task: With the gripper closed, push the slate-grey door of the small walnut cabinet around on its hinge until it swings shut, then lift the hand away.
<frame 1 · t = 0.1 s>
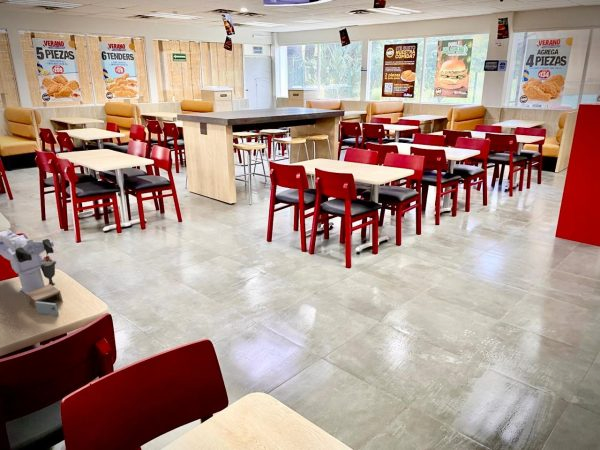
hand: (41, 253, 167), 22 cm above the table, tool horizontal, fingers open, 7 cm apart
cabinet: (46, 303, 177), on the table
door: (46, 308, 168), point 3 cm above the table, hinge at -65.0°
sundae: (51, 286, 191), on the table, touching arm
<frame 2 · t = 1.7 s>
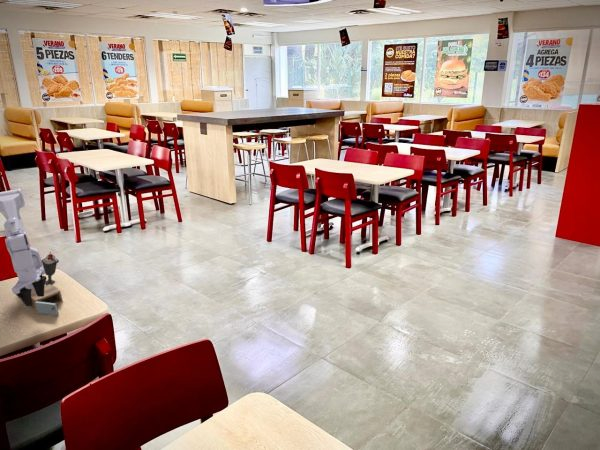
hand: (35, 300, 162), 8 cm above the table, tool pointing down, fingers open, 6 cm apart
sundae: (49, 283, 192), on the table, touching arm
everything else where it was.
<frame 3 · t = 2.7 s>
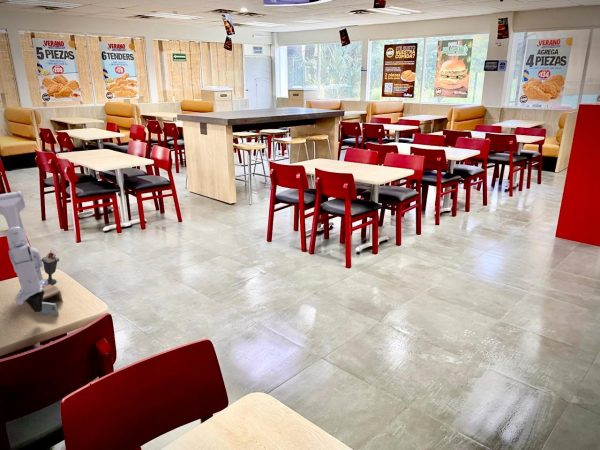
hand: (38, 311, 164), 4 cm above the table, tool pointing down, fingers closed
nothing on the table moved.
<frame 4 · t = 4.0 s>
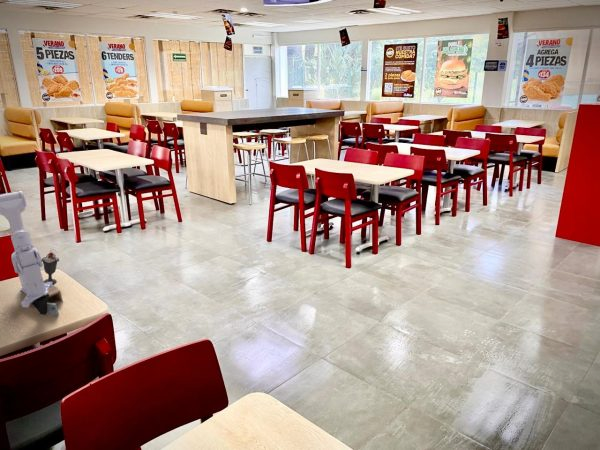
hand: (43, 313, 167), 2 cm above the table, tool pointing down, fingers closed
door: (46, 308, 168), point 3 cm above the table, hinge at -65.0°, touching gripper
everything else where it was.
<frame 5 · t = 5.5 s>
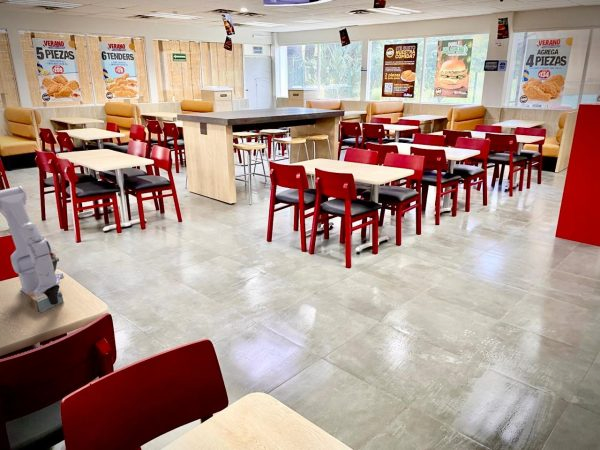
hand: (54, 303, 172), 2 cm above the table, tool pointing down, fingers closed, pressing on door
door: (50, 301, 173), point 3 cm above the table, hinge at 2.6°, touching cabinet, gripper
everything else where it was.
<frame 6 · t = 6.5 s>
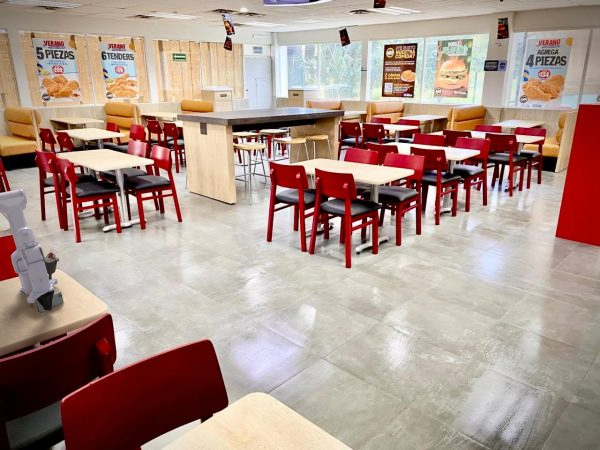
hand: (48, 309, 169), 2 cm above the table, tool pointing down, fingers closed
door: (50, 301, 173), point 3 cm above the table, hinge at 2.5°
everything else where it was.
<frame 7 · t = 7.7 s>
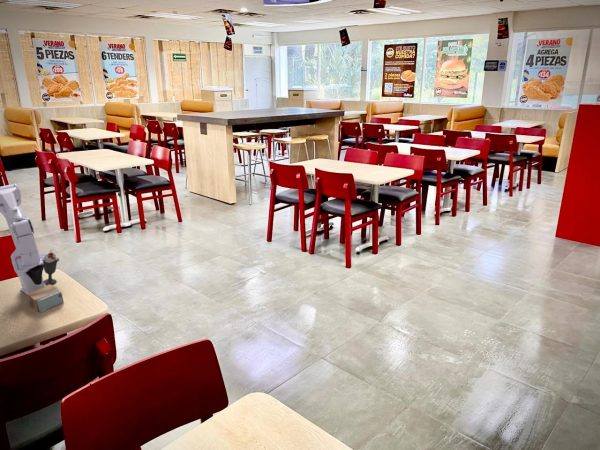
hand: (38, 283, 172), 9 cm above the table, tool pointing down, fingers closed
nothing on the table moved.
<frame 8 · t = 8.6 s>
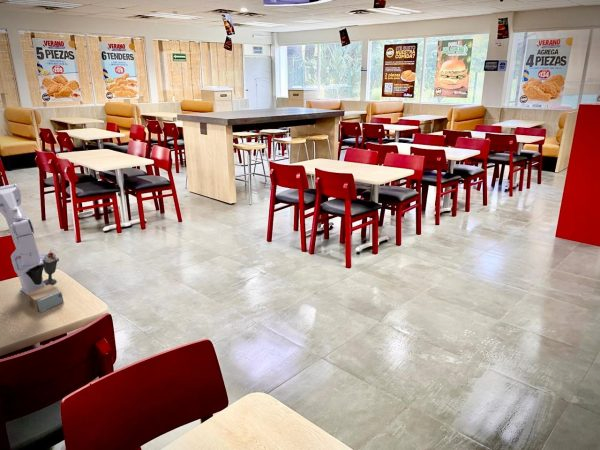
hand: (38, 283, 172), 9 cm above the table, tool pointing down, fingers closed
nothing on the table moved.
at the end: door at +2° (first picture: -65°); sundae moved 2.0 cm from its start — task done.
